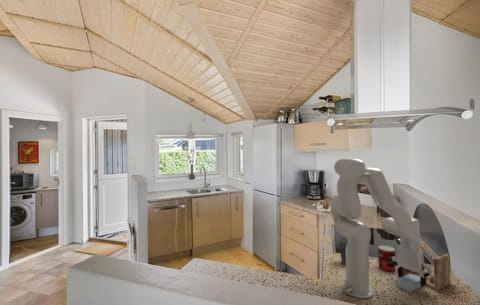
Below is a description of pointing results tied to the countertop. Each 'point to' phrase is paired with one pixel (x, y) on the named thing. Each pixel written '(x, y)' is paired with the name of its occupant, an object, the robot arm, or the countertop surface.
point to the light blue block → (409, 282)
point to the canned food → (386, 258)
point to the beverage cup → (343, 248)
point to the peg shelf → (436, 273)
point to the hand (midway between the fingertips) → (411, 280)
